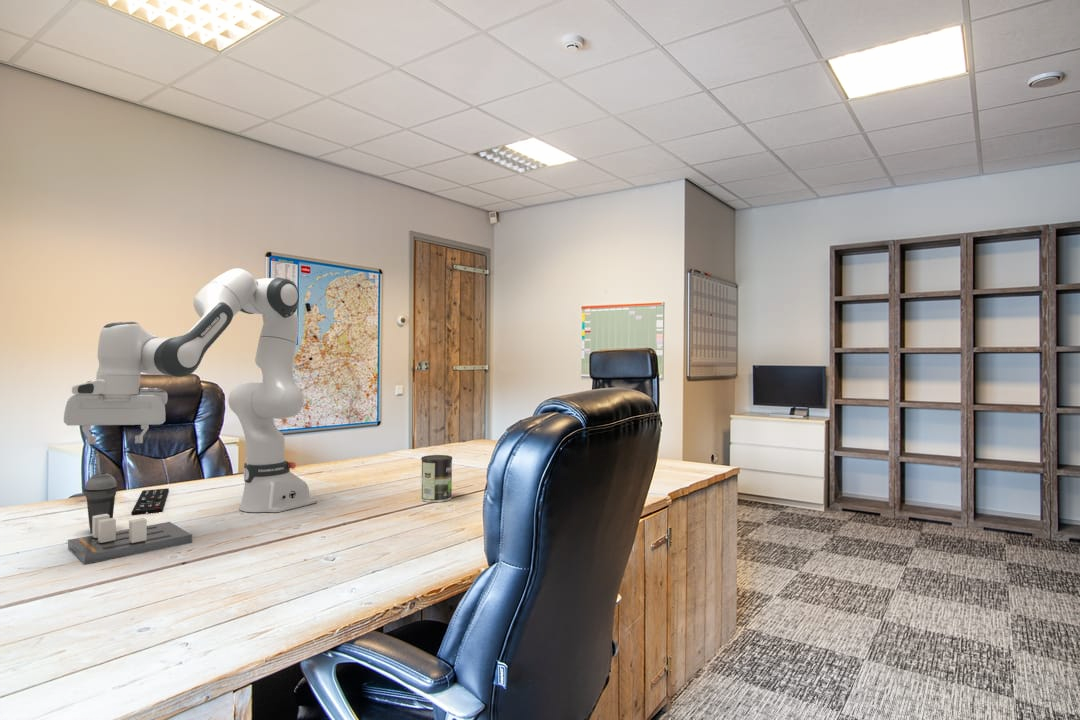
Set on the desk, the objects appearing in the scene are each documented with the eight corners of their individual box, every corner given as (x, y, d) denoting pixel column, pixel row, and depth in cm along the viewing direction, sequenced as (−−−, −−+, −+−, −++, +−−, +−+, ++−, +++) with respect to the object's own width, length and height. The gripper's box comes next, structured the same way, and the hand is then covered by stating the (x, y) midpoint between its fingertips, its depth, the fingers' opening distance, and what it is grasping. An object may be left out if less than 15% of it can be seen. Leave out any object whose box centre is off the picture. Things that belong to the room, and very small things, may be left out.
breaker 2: (112, 538, 145) (113, 517, 145) (115, 540, 144) (115, 519, 144) (98, 540, 143) (98, 520, 143) (100, 542, 141) (100, 522, 141)
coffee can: (454, 495, 204) (454, 454, 204) (449, 502, 193) (449, 459, 193) (424, 495, 204) (424, 454, 204) (417, 502, 194) (418, 459, 194)
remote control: (131, 517, 174) (131, 510, 174) (142, 495, 202) (142, 489, 202) (162, 514, 178) (162, 507, 178) (168, 492, 206) (168, 487, 206)
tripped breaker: (143, 538, 145) (143, 517, 145) (146, 540, 144) (146, 519, 144) (129, 540, 143) (129, 520, 143) (131, 543, 142) (132, 522, 142)
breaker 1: (106, 533, 149) (107, 513, 149) (109, 535, 147) (109, 515, 147) (92, 536, 147) (92, 516, 147) (94, 538, 145) (94, 517, 145)
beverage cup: (99, 536, 154) (100, 459, 154) (76, 534, 156) (77, 458, 156) (124, 528, 161) (124, 455, 161) (102, 526, 163) (102, 454, 163)
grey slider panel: (169, 529, 161) (169, 521, 161) (192, 542, 150) (192, 534, 150) (67, 548, 144) (67, 539, 144) (84, 564, 133) (84, 555, 133)
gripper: (169, 387, 153) (166, 441, 152) (69, 386, 143) (66, 443, 142) (167, 388, 147) (164, 443, 147) (63, 386, 137) (60, 446, 137)
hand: (115, 443), depth 144 cm, fingers open, 8 cm apart
